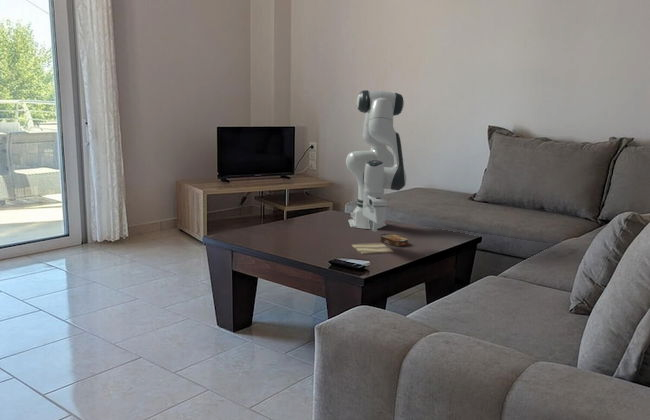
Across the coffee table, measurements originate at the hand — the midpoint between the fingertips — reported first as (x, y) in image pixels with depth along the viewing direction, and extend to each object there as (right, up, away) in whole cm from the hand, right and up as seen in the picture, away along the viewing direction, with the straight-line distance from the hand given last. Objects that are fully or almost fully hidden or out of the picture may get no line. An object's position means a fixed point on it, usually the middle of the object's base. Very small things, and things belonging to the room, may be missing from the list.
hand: (373, 230), depth 256 cm
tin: (+7, -6, +11) cm, 14 cm away
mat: (0, -8, +2) cm, 8 cm away
